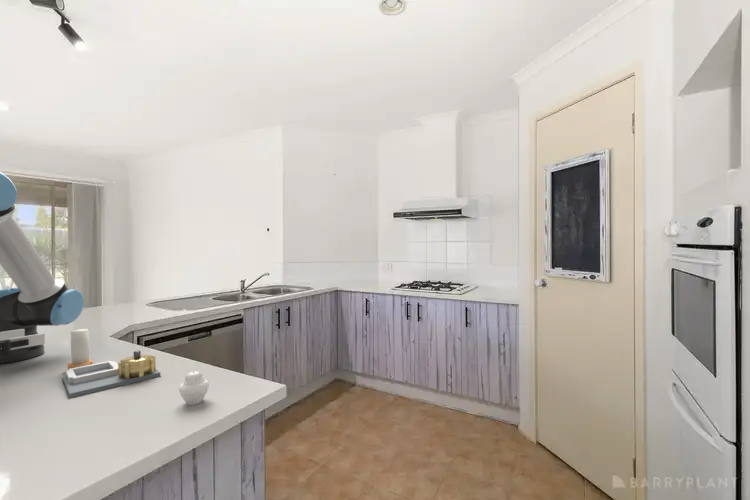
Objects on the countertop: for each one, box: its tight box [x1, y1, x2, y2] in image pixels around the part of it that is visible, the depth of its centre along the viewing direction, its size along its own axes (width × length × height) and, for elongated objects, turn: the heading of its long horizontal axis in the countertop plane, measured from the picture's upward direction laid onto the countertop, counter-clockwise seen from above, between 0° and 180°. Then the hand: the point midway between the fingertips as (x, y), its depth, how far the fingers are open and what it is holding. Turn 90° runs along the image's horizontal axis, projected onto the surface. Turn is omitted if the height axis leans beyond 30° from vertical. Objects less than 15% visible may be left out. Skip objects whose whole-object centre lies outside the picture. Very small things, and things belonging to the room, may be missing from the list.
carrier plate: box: [62, 360, 161, 399], centre depth 97 cm, size 18×19×2 cm
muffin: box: [178, 370, 210, 406], centre depth 80 cm, size 6×6×7 cm
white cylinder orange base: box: [67, 328, 94, 370], centre depth 105 cm, size 6×6×12 cm
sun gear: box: [117, 350, 157, 379], centre depth 97 cm, size 8×8×6 cm
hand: (33, 336), depth 96 cm, fingers open, 13 cm apart
